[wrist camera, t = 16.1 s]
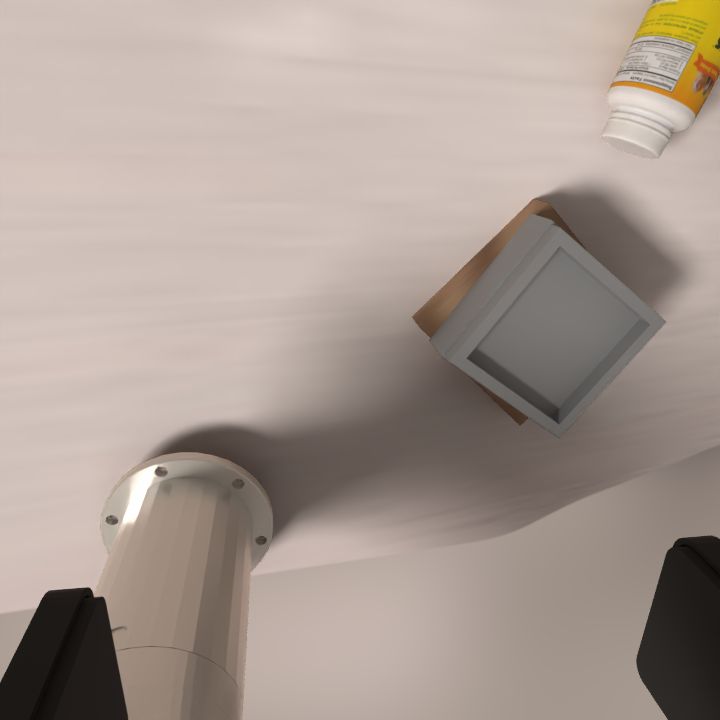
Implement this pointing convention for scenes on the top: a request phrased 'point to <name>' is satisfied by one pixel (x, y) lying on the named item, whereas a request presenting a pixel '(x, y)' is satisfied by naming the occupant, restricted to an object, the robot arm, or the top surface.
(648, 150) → the supplement bottle
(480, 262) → the tower base
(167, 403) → the top surface
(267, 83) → the top surface
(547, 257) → the tower top
